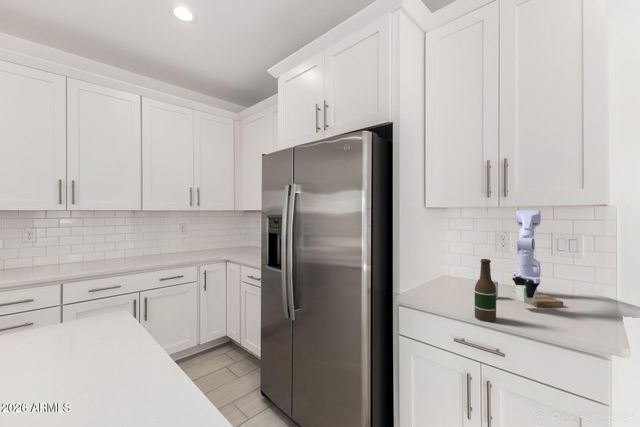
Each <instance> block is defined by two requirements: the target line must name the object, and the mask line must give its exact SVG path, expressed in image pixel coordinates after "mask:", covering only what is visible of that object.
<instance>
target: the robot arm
mask: <svg viewBox="0 0 640 427" xmlns="http://www.w3.org/2000/svg"><path fill="white" fill-rule="evenodd" d="M541 212H542V211H541V210H539V209H538V210H536V209H535V210H534V209H533V210H530V209H529V210H526V209H525V210H519V209H517V211H516V213H515V214H516V216H515V217H516V223H517V225H518V226H520V227H521V228H519V232H518V238H517V239H516V253H517V254H516V255H517V264H516V271H511V276H513V277H512V279H511V280H512V281H513V283H514V284H515V286H516V285H525V287H526V293H527V297H528V298H533V296H534V293H535V294H538V287H539V286H540V284H541V278H540V277H541V263H540V261H539V260H538V259H536V258H535V257H534V255H535V254H534V252H535V250H536V240H535V229H536V227H539V226H540V225H541V221H542V218H541V217H542V216H541ZM513 292H515V293H516V290H513Z"/></svg>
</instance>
